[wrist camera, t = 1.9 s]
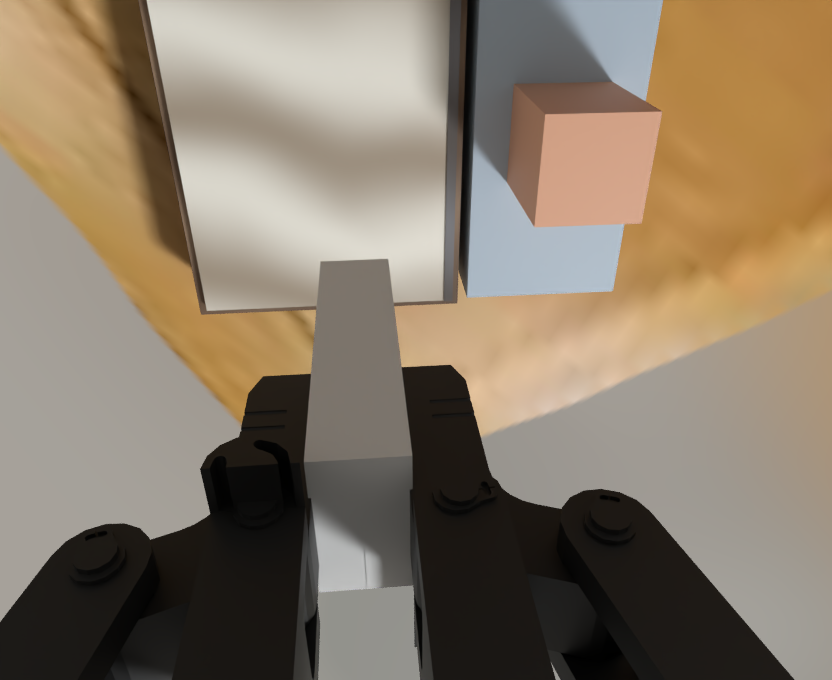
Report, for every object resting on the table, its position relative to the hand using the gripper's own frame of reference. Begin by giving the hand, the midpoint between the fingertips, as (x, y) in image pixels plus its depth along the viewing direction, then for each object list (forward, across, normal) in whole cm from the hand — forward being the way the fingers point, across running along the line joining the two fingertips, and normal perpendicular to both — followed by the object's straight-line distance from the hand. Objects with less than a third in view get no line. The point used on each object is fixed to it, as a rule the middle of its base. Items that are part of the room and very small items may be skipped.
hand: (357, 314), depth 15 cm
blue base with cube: (+17, +8, 0) cm, 19 cm away
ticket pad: (+18, -2, 0) cm, 18 cm away
